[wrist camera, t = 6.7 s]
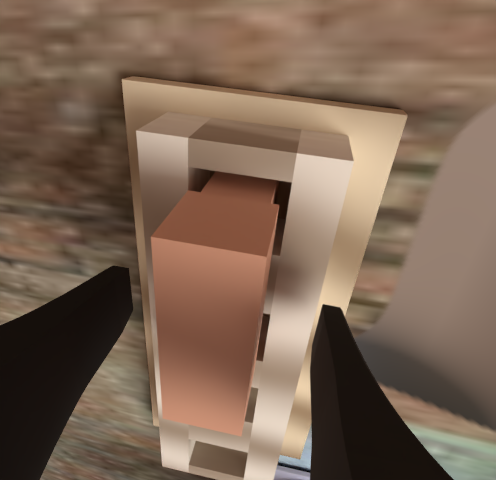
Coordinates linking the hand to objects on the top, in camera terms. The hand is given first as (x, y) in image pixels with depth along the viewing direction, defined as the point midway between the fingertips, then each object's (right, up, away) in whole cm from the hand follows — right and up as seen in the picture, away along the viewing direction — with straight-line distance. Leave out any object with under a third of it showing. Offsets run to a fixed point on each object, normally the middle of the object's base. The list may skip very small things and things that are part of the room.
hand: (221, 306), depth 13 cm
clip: (+1, +2, +4) cm, 5 cm away
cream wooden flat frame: (+1, -2, +8) cm, 8 cm away
